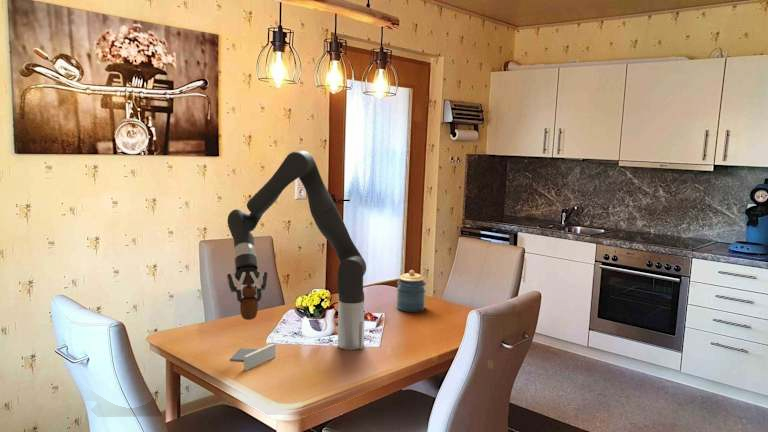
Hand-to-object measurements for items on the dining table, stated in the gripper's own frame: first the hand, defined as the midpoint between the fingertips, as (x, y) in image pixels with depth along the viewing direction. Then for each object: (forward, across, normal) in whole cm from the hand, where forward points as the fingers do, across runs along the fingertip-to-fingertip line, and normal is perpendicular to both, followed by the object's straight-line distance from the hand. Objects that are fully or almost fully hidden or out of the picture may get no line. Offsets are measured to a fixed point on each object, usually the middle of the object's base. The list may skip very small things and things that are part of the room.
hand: (249, 300), depth 190 cm
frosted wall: (+18, +3, +10) cm, 21 cm away
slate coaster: (+13, 0, +15) cm, 20 cm away
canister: (-13, +76, +42) cm, 88 cm away
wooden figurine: (+4, 0, +6) cm, 7 cm away
